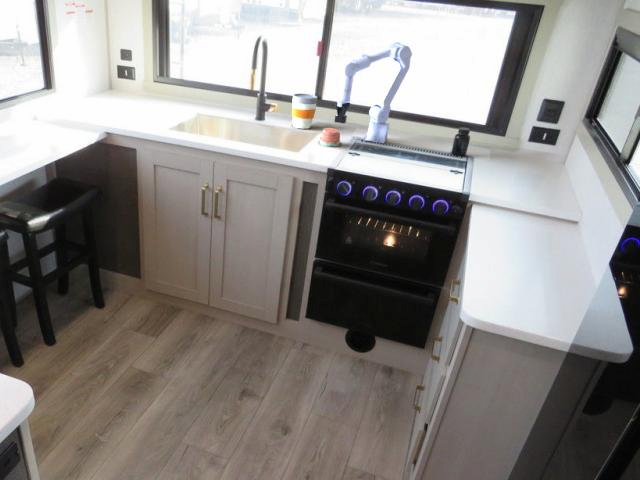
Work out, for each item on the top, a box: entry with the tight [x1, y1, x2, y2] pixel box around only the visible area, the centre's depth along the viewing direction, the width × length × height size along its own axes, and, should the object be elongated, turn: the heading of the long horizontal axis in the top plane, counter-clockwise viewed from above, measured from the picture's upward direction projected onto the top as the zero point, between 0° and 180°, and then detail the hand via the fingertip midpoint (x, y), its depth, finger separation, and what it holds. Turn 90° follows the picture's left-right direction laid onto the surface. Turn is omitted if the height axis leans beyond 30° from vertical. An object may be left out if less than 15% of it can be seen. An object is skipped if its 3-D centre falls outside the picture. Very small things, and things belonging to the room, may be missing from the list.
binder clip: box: [334, 114, 348, 124], centre depth 273 cm, size 5×3×3 cm, turn 68°
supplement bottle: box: [450, 127, 471, 157], centre depth 267 cm, size 7×7×12 cm
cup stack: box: [319, 127, 341, 148], centre depth 272 cm, size 9×9×6 cm
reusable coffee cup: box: [291, 93, 318, 130], centre depth 291 cm, size 12×13×15 cm
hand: (340, 119), depth 273 cm, fingers closed on binder clip, 3 cm apart
